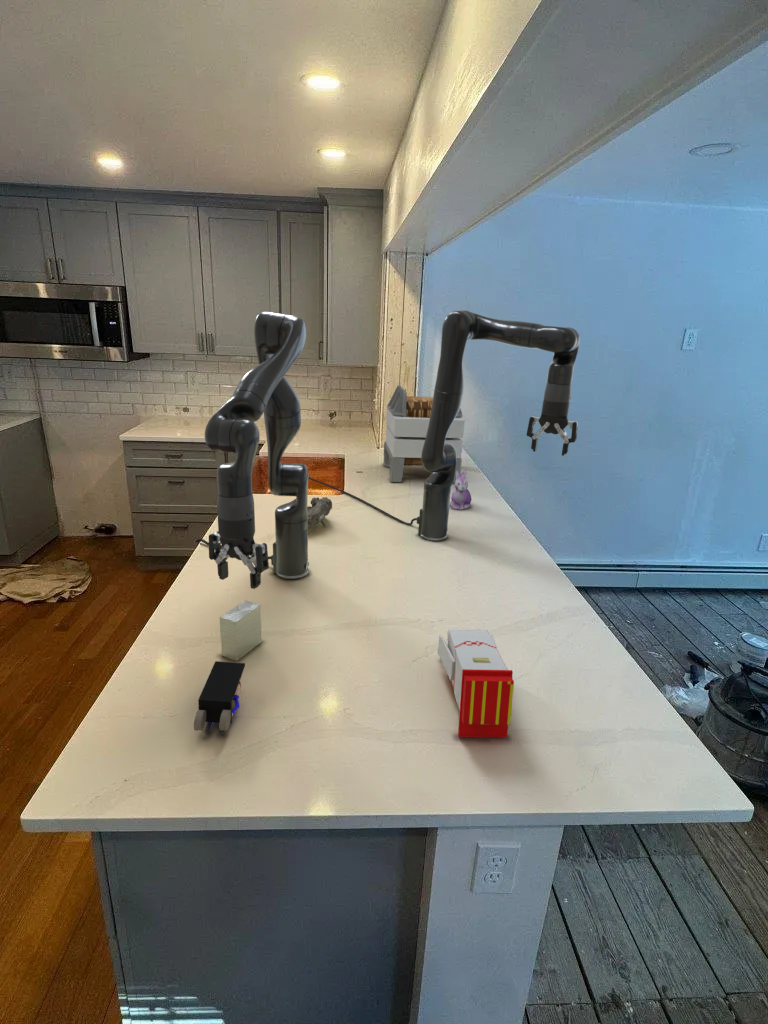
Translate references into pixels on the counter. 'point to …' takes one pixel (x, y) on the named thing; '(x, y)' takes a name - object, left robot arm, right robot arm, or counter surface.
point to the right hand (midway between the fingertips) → (548, 453)
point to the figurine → (461, 492)
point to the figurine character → (219, 696)
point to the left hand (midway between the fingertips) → (239, 582)
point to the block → (240, 630)
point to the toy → (478, 682)
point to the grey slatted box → (413, 432)
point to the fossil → (318, 511)
